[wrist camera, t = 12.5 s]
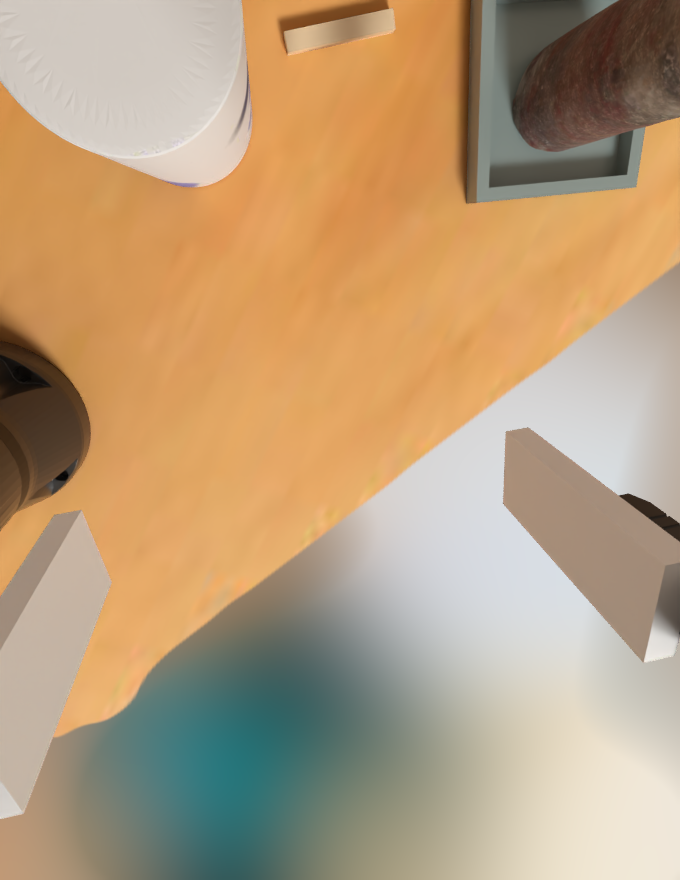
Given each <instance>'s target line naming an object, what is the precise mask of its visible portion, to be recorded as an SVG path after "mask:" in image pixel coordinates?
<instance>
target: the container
mask: <svg viewBox="0 0 680 880" xmlns="http://www.w3.org/2000/svg"><path fill="white" fill-rule="evenodd" d="M0 81H1V82H2V84H3V85H4V86H5V88H6V89H7V90H8V91H9V93H10V94H11V95H12V96H13V97H14V98H15V100H16V101H17V102H18V103H19V104H20V105H21V106H22V107H23V108H24V109H25V110H26V111H27V112H28V113H29V114H30V115H32V116H33V117H34V118H35V119H36V120H37V121H39V122H40V123H41V124H42V125H44V126H45V127H46V128H48V129H49V130H50V131H52V132H53V133H55V134H56V135H58V136H60V137H61V138H63V139H65V140H66V141H68V142H70V143H72V144H74V145H76V146H79V147H81V148H83V149H86V150H88V151H91V152H93V153H96V154H98V155H101V156H103V157H106V158H108V159H111V160H113V161H116V162H118V163H121V164H123V165H126V166H128V167H131V168H133V169H136V170H138V171H141V172H143V173H146V174H148V175H151V176H153V177H156V178H158V179H161V180H163V181H166V182H168V183H171V184H174V185H178V186H183V187H202V186H207V185H210V184H213V183H215V182H218V181H220V180H221V179H223V178H224V177H226V176H227V175H228V174H230V173H231V172H232V171H233V170H234V169H235V168H236V166H237V165H238V164H239V162H240V161H241V159H242V158H243V156H244V154H245V152H246V149H247V147H248V144H249V140H250V136H251V130H252V106H251V96H250V85H249V75H248V65H247V55H246V44H245V33H244V23H243V12H242V2H241V0H0Z"/></svg>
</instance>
